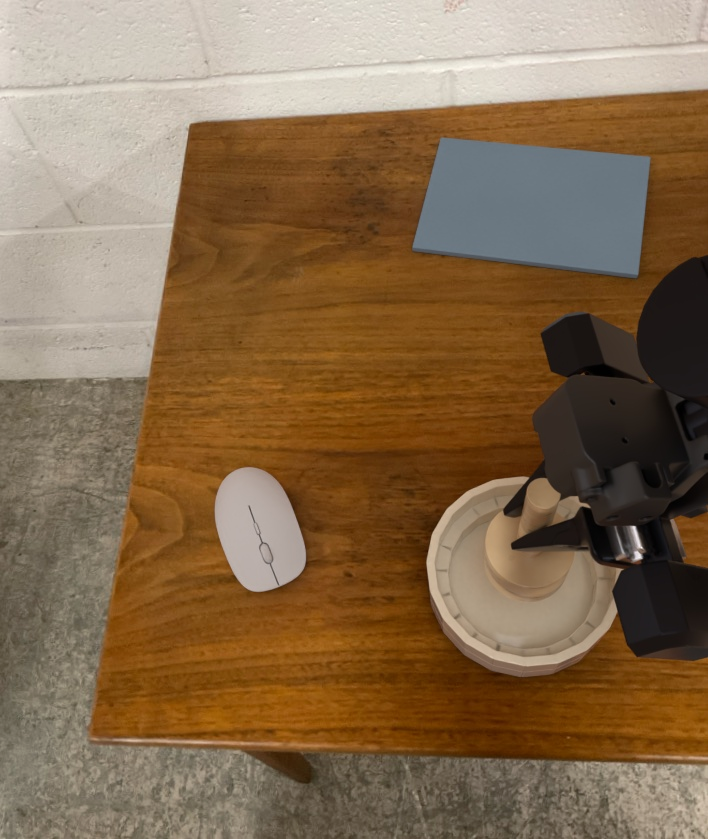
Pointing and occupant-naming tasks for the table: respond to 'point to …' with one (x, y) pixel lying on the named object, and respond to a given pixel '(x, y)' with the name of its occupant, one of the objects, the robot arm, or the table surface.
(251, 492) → the computer mouse
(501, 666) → the bowl
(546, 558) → the wooden stamp
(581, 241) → the mat
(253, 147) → the table surface
